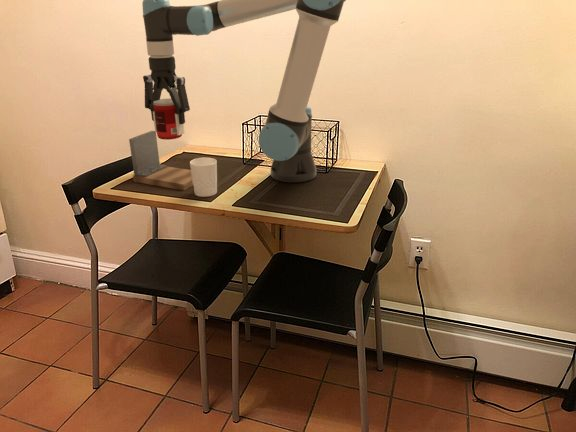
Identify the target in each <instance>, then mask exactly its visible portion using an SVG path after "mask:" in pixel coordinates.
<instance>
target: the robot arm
mask: <svg viewBox="0 0 576 432" xmlns="http://www.w3.org/2000/svg"><path fill="white" fill-rule="evenodd" d="M346 1H347V0H218V1H213V2H211V3H207V4H201V5H182V6H181V5H179V6H175V5H171V4H170V0H142V18H143V23H144V25H143V26H144V30H145V31H144V32H145V39H146V50H147V51H146V52H147V56H149V57H148V58H147V59H148V66H149V70H150V71H151V72H150V74H147V75H143V76H142V79H143V83H144V108H145V109H148V110H149V111H150V113H151V114H150V115H151V120H152V122H153V125H154V131H155V132H156V133H157V130H156V122H155V114H154V105H153V102H154V101H157V100H160V99H161V96H162V92H163V90H166V92H167V93H168V94H169V97H170V99H172V102H173V103H174V106H175V109H176V111H177V113H176V114H175V119H176V129H177V135H181V134H182V135H184V134H185V125H184V124H186V118H185V117H186V115H185V113H187V112H189V111H190V110H191V108H190V103H189V98H188V93H187V89H186V78H185V77H180V76H177V74H176V68H177V67H176V58H175V56H173V55H174V54H175V49H174V48H175V47H174V36H175V35H176V36H178V35H180V36H181V35H182V36H185V35H186V36H197V37H198V36H206V35H209V34H211V32H215V31H218V30H220V29H225V28H227V27H228V28H229V27H232V26H235V25H241V24H244V23H247V22H251V21H254V20H259V19H262V18H266V17H270V16H274V15H278V14H282V13H286V12H289V11H293V10H296V12H297V15H298V21H297V24H296V28H295V31H294V36H293V39H292V43H291V48H290V51H289V54H288V57H287V62H286V65H285V66H286V67H285V70H284V74H283V77H282V81H281V84H280V89H279V93H278V95H277V100H276V103H274V104H273V105H271V106H270V107H269V109H268V113H267V117H266V121H265V125H264V126H262V128H261V130H260V131H259V135H258V145H259V148H260V149H261V151H262V153H263V154H264V155H265V156H266V157H267V158H270V159H271V160H272V163H271V166H270V177H271V178H272V179H274V180H275V181H279V182H283V183H304V182H308V181H311V180H314V179H315V178H316V177H317V166H316V164H315V161H314V157H313V153H312V124H313V123H312V120H313V119H312V118H313V114H312V108H311V107H310V106H308V103H309V101H310V97H311V94H312V90H313V87H314V84H315V80H316V77H317V74H318V69H319V66H320V63H321V60H322V57H323V53H324V50H325V47H326V43H327V40H328V36H329V32H330V30H331V27H332V26H333V25H335V24H336V23H338V22H339V19H340V16H341V13H342V10H343V6H344V4H345V2H346ZM173 35H174V36H173Z"/></svg>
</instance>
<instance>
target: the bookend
mask: <svg viewBox="0 0 576 432" xmlns="http://www.w3.org/2000/svg"><path fill="white" fill-rule="evenodd" d="M157 138H158V137H157V132H155V130H150V131H147V132H144V133H141V134H140V135H136V136H134V137H131V138H129V139H128V141H129V147H130V155H131V162H132V167H133V175H135V176H141V177H147V176H149V175H152V174H154V173H156V172H158V171H160V170H162V169H164V168H166V167H167V166H168V165H167V164H161V163H160V156H159V147H158V139H157Z"/></svg>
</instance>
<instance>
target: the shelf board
mask: <svg viewBox="0 0 576 432" xmlns="http://www.w3.org/2000/svg"><path fill="white" fill-rule="evenodd" d="M132 179H133V182H134V183H138V184H139V183H140V184H146V185H151V186H157V187H163V188H169V189H174V190H179V191H180V190H181V191H187V190H188V189H190V188H192V187H194V186H193V181H192V175H191V169H187V168H179V167H173V166H168V165H167V167H166V168H164V169H162V170H160V171H158V172H156V173H154V174H152V175H149V176H147V177H141V176H135V175H134V174H133V175H132Z"/></svg>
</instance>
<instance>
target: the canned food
mask: <svg viewBox="0 0 576 432" xmlns="http://www.w3.org/2000/svg"><path fill="white" fill-rule="evenodd" d="M153 105H154V114H155V122H156V130H157V132H156V137H157V138H158V139H160V140H165V141H166V140H176V139H180V138H182V135H183V134H181V135H177V129H176V119H175V114H176V113H177V111H176V109H175V106H174V103H173V102H172V99H171V98H160V100H157V101H154V102H153Z"/></svg>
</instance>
